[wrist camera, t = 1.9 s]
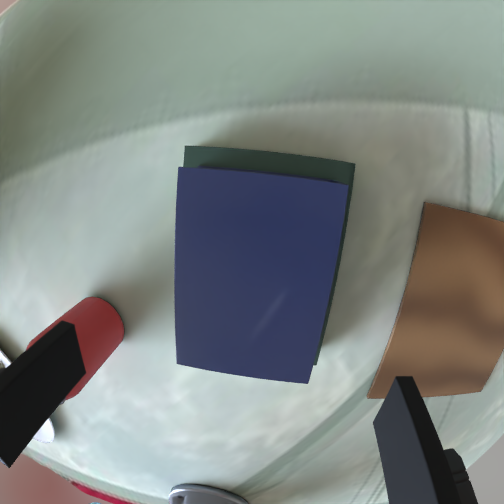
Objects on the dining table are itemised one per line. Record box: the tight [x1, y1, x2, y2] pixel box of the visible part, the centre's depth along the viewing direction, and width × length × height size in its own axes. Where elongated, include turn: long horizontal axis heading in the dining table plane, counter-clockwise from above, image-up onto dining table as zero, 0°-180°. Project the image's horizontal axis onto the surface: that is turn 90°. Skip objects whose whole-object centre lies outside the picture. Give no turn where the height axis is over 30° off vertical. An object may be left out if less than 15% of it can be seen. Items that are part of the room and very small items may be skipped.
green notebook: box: [183, 146, 355, 365], centre depth 25 cm, size 18×13×2 cm
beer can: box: [26, 297, 124, 404], centre depth 25 cm, size 7×7×12 cm
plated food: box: [0, 349, 55, 443], centre depth 39 cm, size 30×30×3 cm
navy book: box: [174, 166, 349, 384], centre depth 22 cm, size 15×10×4 cm
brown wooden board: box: [367, 202, 504, 399], centre depth 25 cm, size 22×18×1 cm
